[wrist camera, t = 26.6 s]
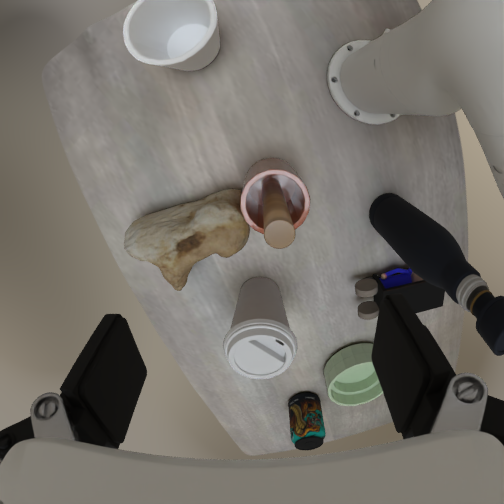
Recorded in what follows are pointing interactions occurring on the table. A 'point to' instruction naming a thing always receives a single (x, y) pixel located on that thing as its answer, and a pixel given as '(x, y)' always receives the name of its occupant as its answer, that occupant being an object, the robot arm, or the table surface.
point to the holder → (290, 186)
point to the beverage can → (306, 421)
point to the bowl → (352, 376)
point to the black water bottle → (439, 263)
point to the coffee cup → (260, 332)
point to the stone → (189, 234)
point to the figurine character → (407, 284)
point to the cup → (173, 33)
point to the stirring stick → (276, 215)
